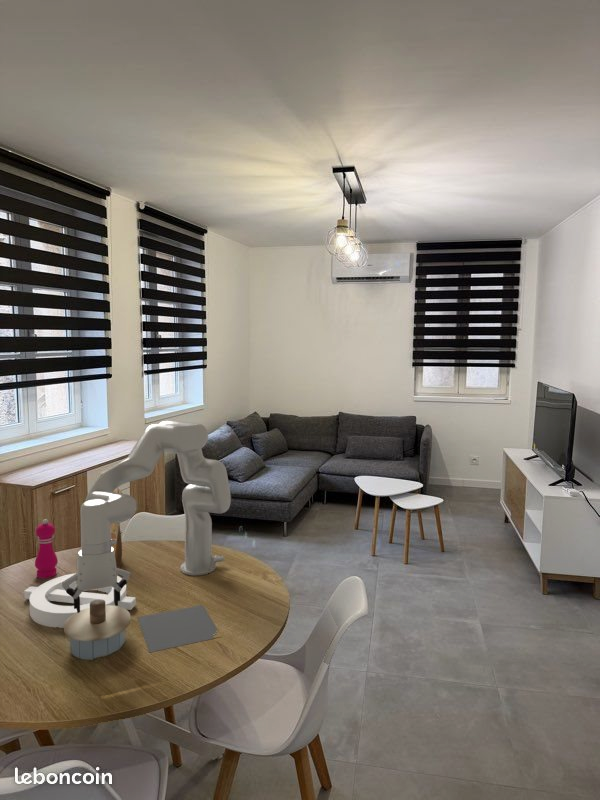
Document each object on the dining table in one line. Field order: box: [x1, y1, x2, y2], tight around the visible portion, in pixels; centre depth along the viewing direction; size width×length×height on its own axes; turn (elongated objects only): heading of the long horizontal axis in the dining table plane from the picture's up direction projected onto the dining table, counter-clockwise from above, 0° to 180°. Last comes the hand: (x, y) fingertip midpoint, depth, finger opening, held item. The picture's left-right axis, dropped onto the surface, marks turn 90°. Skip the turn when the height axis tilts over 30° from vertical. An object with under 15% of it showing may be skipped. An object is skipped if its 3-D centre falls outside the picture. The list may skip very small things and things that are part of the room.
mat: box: [137, 604, 219, 653], centre depth 160 cm, size 20×20×1 cm
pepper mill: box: [34, 518, 58, 579], centre depth 192 cm, size 7×7×20 cm
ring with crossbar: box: [23, 572, 137, 629], centre depth 173 cm, size 28×28×5 cm
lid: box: [63, 599, 132, 641], centre depth 150 cm, size 17×17×6 cm
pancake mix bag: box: [111, 487, 124, 569], centre depth 203 cm, size 7×19×28 cm, turn 24°
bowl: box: [69, 629, 126, 661], centre depth 150 cm, size 14×14×6 cm
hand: (97, 607), depth 149 cm, fingers open, 9 cm apart
